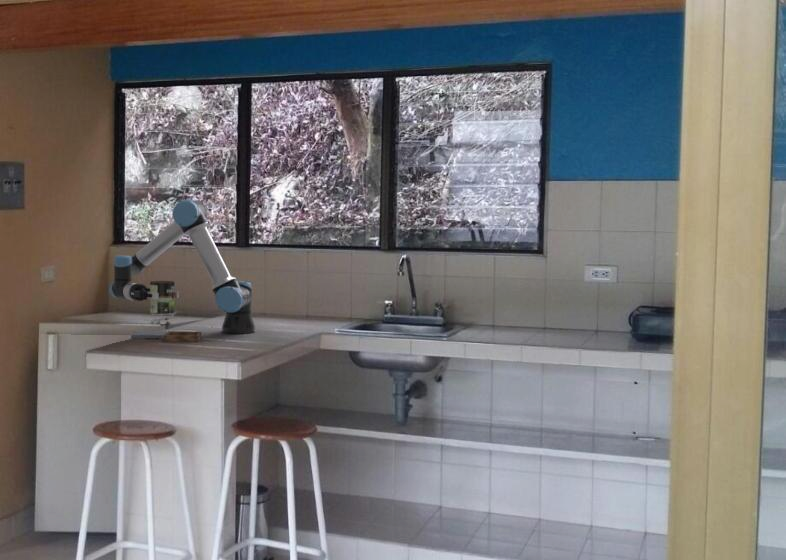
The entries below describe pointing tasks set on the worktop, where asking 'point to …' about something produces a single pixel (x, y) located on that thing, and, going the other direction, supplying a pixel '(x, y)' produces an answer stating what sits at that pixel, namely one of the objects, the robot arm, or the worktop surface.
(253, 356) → the worktop surface
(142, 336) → the slate board
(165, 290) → the coffee can
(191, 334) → the walnut collar
